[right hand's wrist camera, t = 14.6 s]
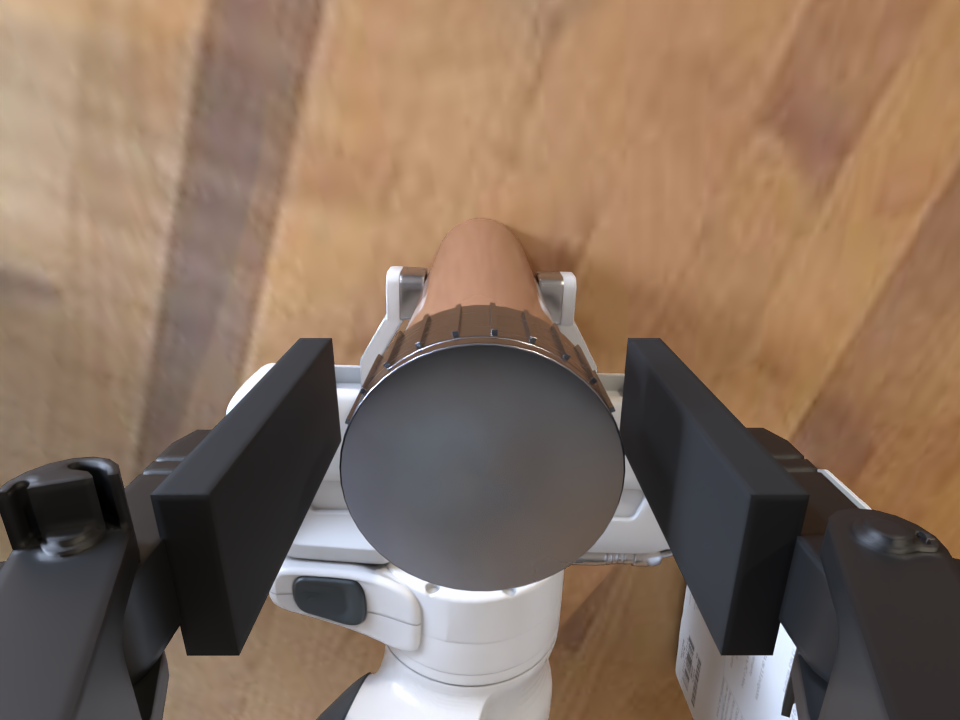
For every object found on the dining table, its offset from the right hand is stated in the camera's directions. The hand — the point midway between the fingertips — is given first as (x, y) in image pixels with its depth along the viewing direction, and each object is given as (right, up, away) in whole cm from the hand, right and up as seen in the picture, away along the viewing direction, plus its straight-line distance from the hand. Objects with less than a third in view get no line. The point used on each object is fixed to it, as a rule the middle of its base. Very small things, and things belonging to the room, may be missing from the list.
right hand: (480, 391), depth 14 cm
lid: (0, -1, -4) cm, 4 cm away
